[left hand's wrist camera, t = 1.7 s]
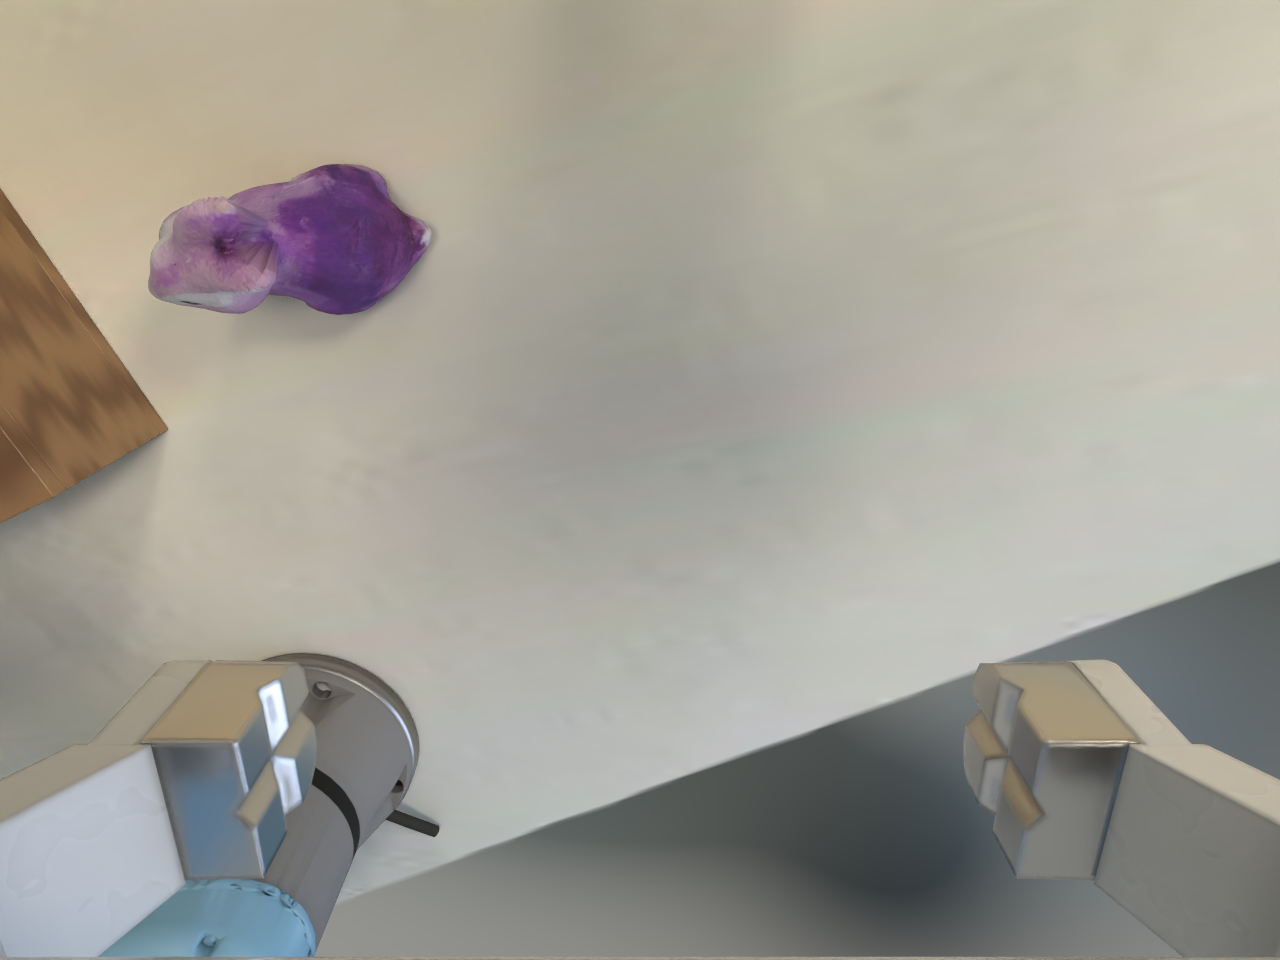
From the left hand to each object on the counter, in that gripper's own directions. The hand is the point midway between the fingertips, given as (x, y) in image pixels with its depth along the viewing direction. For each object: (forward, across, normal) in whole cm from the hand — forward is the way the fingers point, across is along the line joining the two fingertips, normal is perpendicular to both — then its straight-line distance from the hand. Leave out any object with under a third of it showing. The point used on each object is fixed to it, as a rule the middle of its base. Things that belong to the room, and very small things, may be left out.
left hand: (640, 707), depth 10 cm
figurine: (+44, +18, -1) cm, 48 cm away
